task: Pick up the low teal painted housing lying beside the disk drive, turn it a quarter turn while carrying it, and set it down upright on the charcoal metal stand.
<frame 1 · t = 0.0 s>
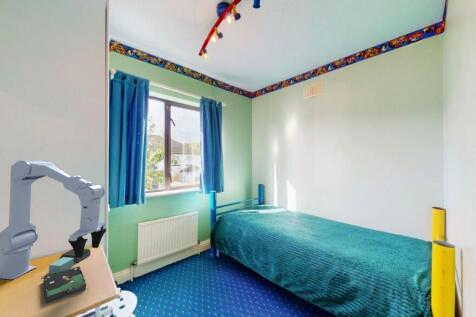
hand: (87, 252, 73), 10 cm above the table, tool pointing down, fingers open, 7 cm apart
stand: (75, 258, 87), on the table
disk drive: (64, 287, 69), on the table
housing: (61, 269, 78), on the table
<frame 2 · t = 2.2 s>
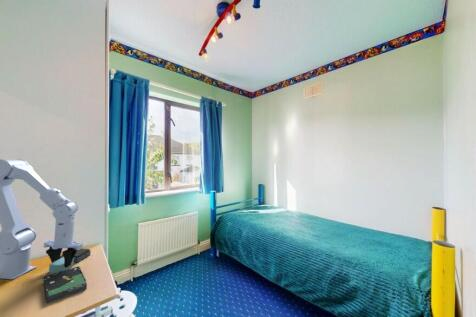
hand: (61, 265, 78), 1 cm above the table, tool pointing down, fingers closed on housing, 4 cm apart
housing: (61, 269, 78), on the table, touching gripper
everything else where it was.
when the fingers open (5 cm above the table, at t = 6.0 s): housing stays where it is, resting on stand.
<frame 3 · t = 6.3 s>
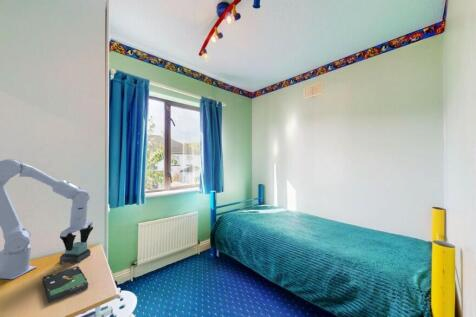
hand: (76, 246, 87), 5 cm above the table, tool pointing down, fingers open, 7 cm apart
housing: (76, 251, 87), point 3 cm above the table, touching stand
everything else where it was.
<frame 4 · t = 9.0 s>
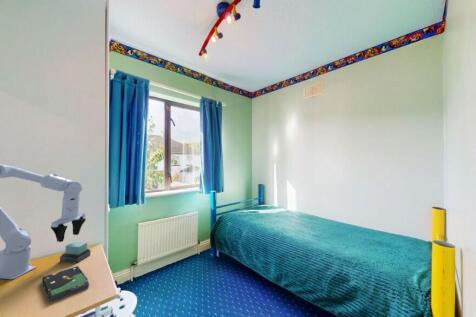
hand: (68, 237, 86), 9 cm above the table, tool pointing down, fingers open, 7 cm apart
nothing on the table moved.
at the end: housing 0.0 cm off-centre on the stand, point 2.8 cm above the stand's base; housing tilted 0°; the gripper is holding nothing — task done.
